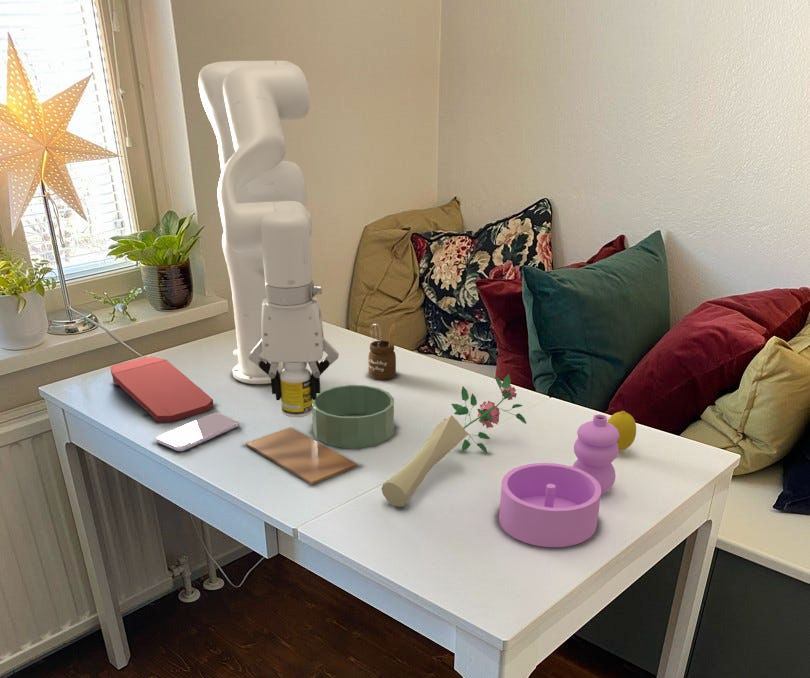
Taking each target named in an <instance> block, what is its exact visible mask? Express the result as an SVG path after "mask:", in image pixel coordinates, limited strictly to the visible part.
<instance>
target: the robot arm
mask: <svg viewBox="0 0 810 678" xmlns="http://www.w3.org/2000/svg"><path fill="white" fill-rule="evenodd" d="M197 81H198V89H199V95H200V100H201V102H202V105H203V108H204V111H205V112H206V115H207V118H208V120H209V122H210V124H211V127H212V128H213V131H214V134H215V136H216V140H217V145H218V146H217V147H218V155H219V163H220V164H219V165H220V171H221V173H220V177H219V181H218V185H217V202H218V209H219V214H220V219H221V225H222V229H223V233H222V236H221V238H222V239H221V246H222V252H223V256H224V259H225V264H226V268H227V273H228V278H229V284H230V289H231V298H232V307H233V317H234V325H235V336H236V345H237V349H234V350H233V352H232V354H233V355H234V356H235V357H237V364H235V365H234V366H233V368H232V376H233V378H234V379H235V380H237V381H238V382H241V383H244V384H251V385H268V384H270V386H271V394H272V395H275V401H281V392H280V372H281V371H282V370H283V369H284V368H283V363H286V362H307V364H308V366H309V368H310V369H309V370H311V371H310V373H311V394H312V400H316V396H317V394H318V393H320V392H321V376H322V374H323V373H325V372H326V370H328V368H329V367H331V366H332V364H334V363H335V362H336V361H337V360H338V359H339V354H340V353H339V352H338V351H337V350H336V348H334V347H333V345H332V344H330V343H329V342H328V340H327V339H326V338H324V327H323V317H322V311H321V307H320V303H319V299H318V297H316V296H317V295H322V293H323V292H322V291H323V289H322V285H317V284H315V282H313V272H312V271H313V270H312V269H313V268H312V256H311V255H312V254H311V253H312V252H311V236H312V228H313V226H312V218H311V213H310V211H309V209H308V208H309V207H308V197H307V196H308V195H307V189H306V181H305V177H304V174H303V171H302V169H301V168H300V166H299V165H298V164H297V163H295V162H294V161H289V160H284V158H285V156H286V153H287V146H286V141H285V135H284V132H283V128H282V123H281V121H286V120H288V121H289V120H302V119H304V118H305V117H306V116H308V114H309V111H310V107H311V106H310V105H311V92H310V88H309V84H308V81H307V78H306V75H305V73H304V72H303V70H302V68H300V66H298V64H295V63H293V62H291V61H288V60H224V61H215V62H211V63H209V64H206V65H204V66H203V67H202V68H201V69H200V70H199V72H198V79H197ZM324 353H325V354H327V356H326V357H325V358H323V357H324ZM319 361H320V362H319Z"/></svg>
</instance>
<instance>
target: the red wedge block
mask: <svg viewBox="0 0 810 678" xmlns="http://www.w3.org/2000/svg"><path fill="white" fill-rule="evenodd" d="M109 368H110V373H111V376H112V382H113V384H115V386H117V387H120V388H121V389H122V390H124V391H125V393H127V394H128V395H129V396H130V397H131V398H132V399H133V400H134V401H135V402H136V403H137V404H139V405H140V406H141V407H142V408H143V409H144V410H145V411H146V412H147V413H148V414H149V415H150V416H151V417H152V418H153V419H155V420H156V421H157V422H158V423H169V422H170V423H171V422H172V423H173V422H175V421H178V420H182V419H185V418H189V417H191V416H196V415H198V414H202V413H205V412H208V410H210V409H211V408H212V407H213V406H214V399H213V398H212V397H211V396H210V395H208V394H207V393H206V392H205V391H204V390H203V389H202V388H200V387H199V386H198V385H197V384H195V382H193V381H192V380H191V379H190V378H189V377H187V376H186V375H185V374H184V373H183V372H182V371H180V370H179V369H178V368H177V367H176V366H175V365H174V364H172V363H171V362H170V361H169V360H168V359H165V358H160V357H156V356H152V355H151V356H143V357H140V358H136V359H131V360H128V361H123V362H120V363H116V364H112V365H110V366H109Z"/></svg>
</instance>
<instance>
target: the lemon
mask: <svg viewBox="0 0 810 678" xmlns="http://www.w3.org/2000/svg"><path fill="white" fill-rule="evenodd" d="M607 422H608V423H610V424H612V425H613V426H614V427H616V428H617V429H618V432H619V439H618V440H617V444H618V447H619V452H621V451H624V450H627V449H628V448H630V447H631V446H632V445H633V443H634V442H635V440H636V436H637V424H636V420H635V418H634V417H633V416H632V415H631V414H630V413H628V412H626V411H625V410H621V411H618V412H615V413H613V414H612V415H611V416H610V417H609V418H607Z"/></svg>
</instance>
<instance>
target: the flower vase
mask: <svg viewBox="0 0 810 678" xmlns="http://www.w3.org/2000/svg"><path fill="white" fill-rule="evenodd" d="M494 380H495V381H496V384H497V386H498V388H499V390H500V393H501V397H502V398H501V400H500V401H499V402H498V403H497V404H496V403H495V402H494V401H493V402H492V401H490V400H487V401H483V402H482V404H479V408H477V409H476V410H477V412H478V413H477V418H475V419H473V420H472V421H471V417H469V423H468V424H465V425H464V426H462V425H461V424H460V422H459V421H458V420H457V418H455V417H454V416H453V415H457V416H463V415H465V418H464V420H466V419H467V416H471V413H472V411H469V408H468V406H467V401H468V400H469V399H470V405H471V406H472V408H471V409H473V407H475V406H477V405H478V401H477V397H476V396H475V395H474V393H473V392H472V393H471V395H469V393H468V390H467V389H466V387H465V386H462V387H461V391H460V393H461V400H462V401H464V403H465V405H464V406H463V405H461V404H458V403H450V405H451V406H452V409H454V411H455V412H453V415H452V414H451V415H449V416H448V417H447V418H444V419H443V420H442V421H441V422H439V423H438V424H437V425H436V426H435V428H434V429H433V431H432V432H431V433H430V435H429V437H428V438H427V439H426V441H425V442H424V444H423V445H422V447H421V448H420V450H419V451H418V452H417V453H416V454H415V455H414V456H413V457H412V458H411V459H410V460H408V462H407V463H406V464H405V465H404V466H403V467H401V468H400V469H399V470H398V471H396V472H395V473H394V474H393V475H392V476H391V477H390V478H388V479H387V480H386V481H385V482H384V483H383V484H382V485H381V493H382V495H383V497H384V498H385V500H386V501H387V502H389V504H391V505H392V506H395V507H399V508H400V507H404V506H406V505H407V503H408V502H409V501H410V499H411V498H412V496H413V495H414V493H415V492H416V490H417V489H418V488H419V487H420V485H421V484H422V482H423V481H424V479H425V478H426V477H427V475H428V474H429V473H430V471H431V470H432V469H433V467H435V466H436V464H438V463H439V462H440V461H441V460H442V459H443V458H445V457H446V455H448V454H449V452H451V451H452V450H453V449H454V448H455V447H457V445H458V444H460V443H461V442H462V441H463V442H462V444H461V452H462V453H463V452H465V451H467V450H468V449H469V448H470V447H471V442H470V441H469V440H470V439H472V441H473V442H475V440H474V439H473V438H472V434H469V433H468V431H467V430H466V428H467V427H469V426H470V425H472V424H473V423H475V422H477V421H478V422H479V423H480V424H481V425H482V427H485V426H486V427H485V428H486V429H490V428H494V425H493V424H495V425H498V424H499V422H500V414H501V411H503V412H506V413H508V414H511V415H513V416H515V417H516V419H518V420H519V421H521V422H522V423H523V424H525V425H527V421H526V419H525V417H524V416H523V414H521V413H519V412H518V413H516V414H514V413H512V412H509V411H510V409H505V410H504V409H502V408H500V407H499V405H500V404H502V403H503V401H504V400H506V399H507V401H510V400H513V398H514V399H515V398H517V395H518V394H517V390H516V388H515V386H513V387H512V385H511V376H510V374H507V375H506V376H505V377H504V378H503V380H501V379H500V378H499V377H496V376H494ZM523 406H524V405H523V404H521V403H515V404H513V405H512V407H511V409H516V408H521V407H523ZM500 410H501V411H500ZM467 436H469V438H468V439H466V437H467ZM474 436H475V437H478V438H479V439H483V440H490V439H491V437H490V436H489V435H488V434H487V433H485V432H483V431H479V432H478V434H477V435H475V434H474ZM476 446H477V447H478V448H479V449H480V450H481V451H483V452H484V453H485V454H488V449H487V447H486V446H485V444H484V443H482V442H478V443H476Z"/></svg>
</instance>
